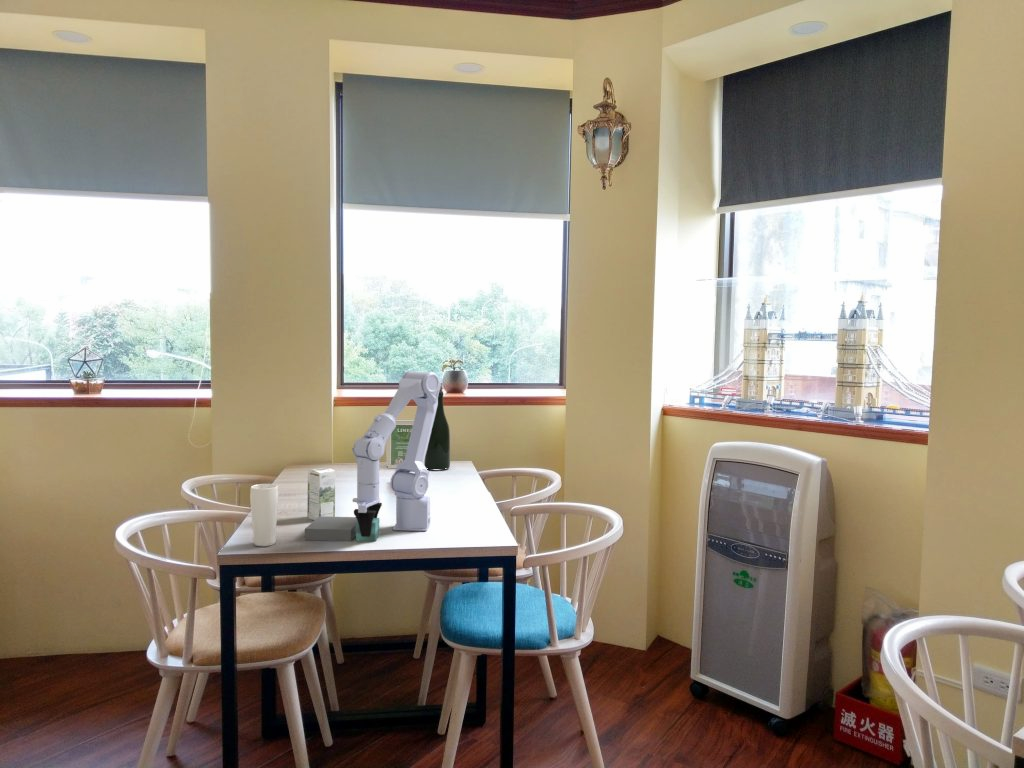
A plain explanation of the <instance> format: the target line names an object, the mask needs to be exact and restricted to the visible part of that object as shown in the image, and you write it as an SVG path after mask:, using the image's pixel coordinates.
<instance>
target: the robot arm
mask: <svg viewBox="0 0 1024 768" xmlns="http://www.w3.org/2000/svg"><path fill="white" fill-rule="evenodd" d="M441 386H442V382H441V380H440V378H439V376H438V375H437V373H436V372H433V371H413V370H407V371H405V372H404V373H403V374H402V376H401V378H400V379H399V381H398V389H397V390H396V391H395V394H394V396H393V398H392V399H391V401H390V402H389V404H388V407H387V408H386V410H385V412H384V413H379V414H378V415H376V416H375V417H374V418H373V422H372V423H371V425H370V426H369V427H368V429H367V431H365V433H364V435H363V436H361V437H359V438H358V439H357V440H355V442H354V445H353V447H352V448H351V450H352V454H353V455H354V457H355V464H356V475H357V476H356V479H357V480H356V482H357V483H356V497H353V498H352V503H356V504H357V508H355V509H353V515H354V517H356V518H357V521H358V524H359V528H360V532H361V536H362V537H369V536H370V534H371V528H372V522H373V518H378V515H379V512H380V509H381V508H382V507H383V504H382V502H381V498H380V459H381V457H383V456H384V454H385V448H386V444H387V441H388V439H389V438H390V436H391V435H392V433H393V431H394V430H395V429H396V427H397V423H396V420H397V418H398V417H399V416H400V415H401V413H402V411H404V409H405V408H406V407H407V406H408V404H409V403H410V401H412V400H413V401H414V402H415V404H416V407H417V408H416V411H415V415H414V419H413V424H412V427H411V431H410V437H409V441H408V443H407V447H406V451H405V456H404V459H403V460H402V461H400V463H398V464H397V465H396V468H395V470H394V473H393V474H392V476H391V478H390V483H389V484H390V488H391V490H392V491H393V492H394V496H395V497H396V499H395V500H396V501H395V502H396V504H395V505H396V510H395V511H396V512H395V513H396V514H395V524H394V526H393V528H392V530H393V531H409V532H410V531H411V532H412V531H413V532H414V531H417V532H419V531H420V532H422V531H423V532H427V530H428V529H429V527H430V525H431V498H430V496H425V494H426V493H427V491H428V488H429V475H430V470H427V468H426V467H425V466H424V460H425V455H426V451H427V447H428V443H429V439H430V435H431V431H432V426H433V422H434V418H435V414H436V410H437V405H438V395H439V391H440V388H441Z"/></svg>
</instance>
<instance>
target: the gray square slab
mask: <svg viewBox="0 0 1024 768" xmlns="http://www.w3.org/2000/svg"><path fill="white" fill-rule="evenodd" d="M356 522H357V518H356V516H335V517H323V516H319V517H318V518H317V519H316V520H312V521H311V523H310V524H309V525H308V526H306V527H305V528H304V540H305V541H330V542H331V541H333V542H336V541H340V542H343V541H344V542H351V541H352V540H353V539H354V537H356Z"/></svg>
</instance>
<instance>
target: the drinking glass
mask: <svg viewBox="0 0 1024 768" xmlns="http://www.w3.org/2000/svg"><path fill="white" fill-rule="evenodd" d="M249 495H250V497H249V500H250V501H249V502H250V514H251V525H252V534H253V545H255V546H256V547H269V546H273V545H275V543H276V541H277V540H276V539H277V536H276V534H277V522H278V521H277V520H278V511H279V485H278V484H275V483H260V484H258V483H257V484H254V485H251V486H250V492H249Z"/></svg>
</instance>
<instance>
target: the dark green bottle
mask: <svg viewBox="0 0 1024 768" xmlns="http://www.w3.org/2000/svg"><path fill="white" fill-rule="evenodd" d="M446 416H447V415H446V414H445V408H444V391H443V388H441V387H440V391H439V395H438V405H437V410H436V414H435V418H434V422H433V426H432V431H431V435H430V439H429V443H428V447H427V451H426V455H425V460H424V466H425V467H426V468H428V469H445V468H449V467H450V468H451V434H450V433H451V431H450V425H449V423H448V419H447V417H446ZM450 468H449V469H450Z"/></svg>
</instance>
